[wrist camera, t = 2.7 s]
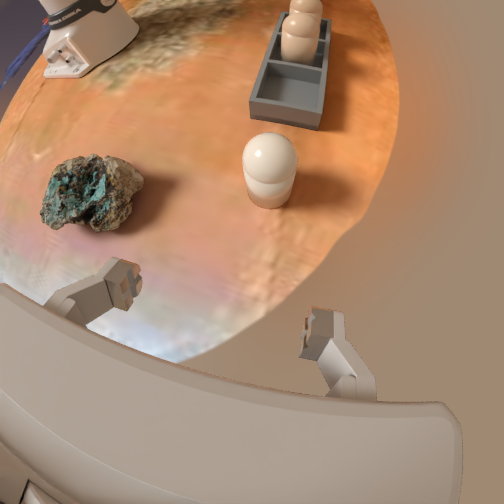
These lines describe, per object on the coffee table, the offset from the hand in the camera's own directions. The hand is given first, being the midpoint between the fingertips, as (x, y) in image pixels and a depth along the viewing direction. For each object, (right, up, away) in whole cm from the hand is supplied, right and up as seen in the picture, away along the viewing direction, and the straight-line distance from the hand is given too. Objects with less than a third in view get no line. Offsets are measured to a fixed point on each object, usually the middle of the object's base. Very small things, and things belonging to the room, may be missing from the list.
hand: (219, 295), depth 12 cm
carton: (+7, +27, +17) cm, 33 cm away
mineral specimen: (-16, +8, +16) cm, 24 cm away
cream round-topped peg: (+3, +8, +14) cm, 17 cm away
